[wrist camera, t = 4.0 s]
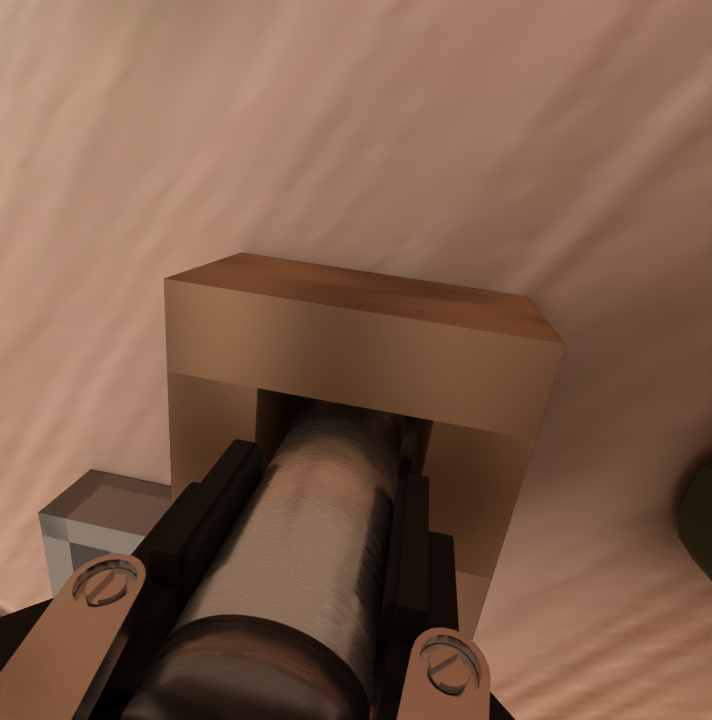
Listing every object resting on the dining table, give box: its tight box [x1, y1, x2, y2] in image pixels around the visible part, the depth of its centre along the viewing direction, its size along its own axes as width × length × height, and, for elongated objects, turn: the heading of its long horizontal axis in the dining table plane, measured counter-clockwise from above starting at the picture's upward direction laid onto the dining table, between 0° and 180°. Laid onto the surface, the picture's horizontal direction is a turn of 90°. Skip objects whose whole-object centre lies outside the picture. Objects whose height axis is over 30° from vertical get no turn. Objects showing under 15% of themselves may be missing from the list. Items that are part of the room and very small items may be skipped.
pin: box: [120, 398, 406, 720], centre depth 12 cm, size 4×4×12 cm
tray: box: [38, 470, 172, 598], centre depth 21 cm, size 12×10×3 cm
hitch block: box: [164, 253, 566, 640], centre depth 15 cm, size 10×10×5 cm
